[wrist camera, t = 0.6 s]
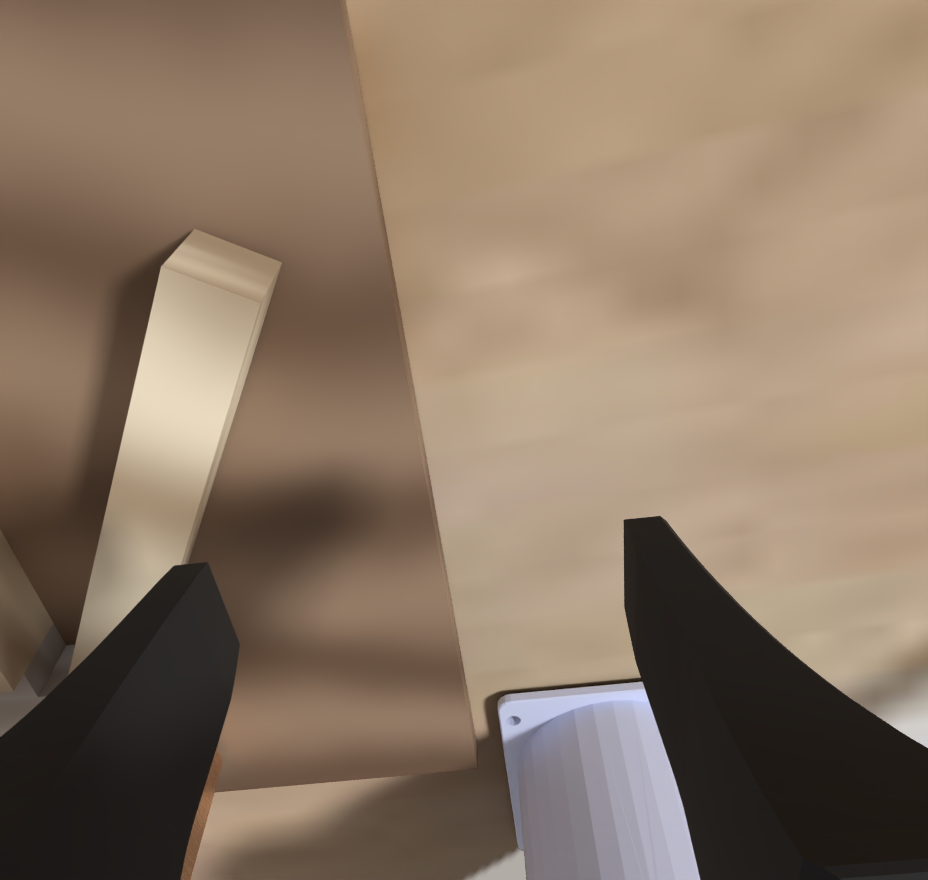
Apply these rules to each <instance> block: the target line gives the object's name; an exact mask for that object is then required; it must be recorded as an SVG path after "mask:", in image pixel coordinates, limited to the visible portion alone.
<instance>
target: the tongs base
mask: <svg viewBox="0 0 928 880" xmlns="http://www.w3.org/2000/svg"><path fill="white" fill-rule="evenodd" d="M194 229H196V230H199V231H202V232H204V233H207V234H209V235H212V236H215V237H217V238H220V239H222V240H225V241H228V242H230V243H233V244H235V245H238V246H241V247H243V248H246V249H248V250H251V251H254V252H256V253H259V254H261V255H264V256H267V257H269V258H272V259H274V260H277V261H280V262H282V264H281V268H280V271H279V274H278V277H277V280H276V284H275V287H274V290H273V293H272V296H271V300H270V303H269V306H268V309H267V312H266V316H265V319H264V322H263V325H262V329H261V332H260V335H259V338H258V341H257V345H256V348H255V351H254V354H253V357H252V361H251V364H250V367H249V370H248V373H247V377H246V380H245V383H244V386H243V389H242V393H241V396H240V399H239V402H238V405H237V409H236V412H235V415H234V418H233V421H232V425H231V428H230V431H229V434H228V437H227V441H226V444H225V447H224V450H223V453H222V457H221V460H220V463H219V466H218V469H217V473H216V476H215V479H214V482H213V485H212V489H211V492H210V495H209V498H208V501H207V505H206V508H205V511H204V514H203V518H202V521H201V524H200V527H199V530H198V534H197V537H196V540H195V543H194V546H193V550H192V553H191V556H190V559H189V562H188V564H193V563H203V562H208V564H209V566H210V569H211V571H212V574H213V576H214V579H215V582H216V584H217V587H218V589H219V592H220V594H221V597H222V599H223V602H224V605H225V607H226V610H227V612H228V615H229V617H230V620H231V623H232V625H233V628H234V630H235V633H236V635H237V638H238V641H239V643H240V648H239V655H238V661H237V668H236V675H235V680H234V686H233V692H232V697H231V701H230V705H229V708H228V712H227V715H226V719H225V722H224V725H223V729H222V732H221V735H220V739H219V742H218V745H217V748H218V751H219V753H220V755H221V757H222V759H223V763H222V767H221V770H220V774H219V778H218V781H217V785H216V788H215V792H224V791H235V790H247V789H258V788H269V787H280V786H292V785H303V784H314V783H325V782H337V781H348V780H359V779H370V778H382V777H393V776H404V775H415V774H427V773H438V772H449V771H460V770H472V769H478V757H477V742H476V736H475V731H474V725H473V719H472V714H471V708H470V702H469V697H468V691H467V685H466V680H465V674H464V668H463V663H462V657H461V651H460V646H459V640H458V634H457V629H456V623H455V618H454V612H453V606H452V601H451V595H450V589H449V584H448V578H447V572H446V567H445V561H444V555H443V550H442V544H441V538H440V533H439V527H438V521H437V516H436V510H435V504H434V499H433V493H432V487H431V482H430V476H429V471H428V465H427V459H426V454H425V448H424V442H423V437H422V431H421V425H420V420H419V414H418V408H417V403H416V397H415V391H414V386H413V380H412V374H411V369H410V363H409V357H408V352H407V346H406V341H405V335H404V329H403V324H402V318H401V312H400V307H399V301H398V295H397V290H396V284H395V278H394V273H393V267H392V261H391V256H390V250H389V244H388V239H387V233H386V227H385V222H384V216H383V210H382V205H381V199H380V194H379V188H378V182H377V177H376V171H375V165H374V160H373V154H372V148H371V143H370V137H369V131H368V126H367V120H366V114H365V109H364V103H363V97H362V92H361V86H360V80H359V75H358V69H357V64H356V58H355V52H354V47H353V41H352V35H351V30H350V24H349V18H348V13H347V7H346V1H345V0H0V737H1V736H2V735H3V734H4V733H6V732H7V731H8V730H9V729H10V728H12V727H13V726H14V725H15V724H16V723H17V722H19V721H20V720H21V719H22V718H23V717H24V716H25V715H27V714H28V713H29V712H30V711H31V710H32V709H33V708H34V707H35V706H37V705H38V704H39V703H40V702H41V701H42V700H43V699H44V698H45V697H46V696H47V695H48V694H49V693H50V692H51V691H52V690H53V689H54V688H56V687H57V686H58V685H59V684H60V683H61V682H62V681H63V680H64V679H65V678H66V677H67V676H68V675H69V670H70V666H71V661H72V657H73V653H74V648H75V644H76V639H77V635H78V631H79V626H80V622H81V617H82V613H83V609H84V604H85V600H86V595H87V591H88V586H89V582H90V578H91V573H92V569H93V564H94V560H95V556H96V551H97V547H98V542H99V538H100V534H101V529H102V525H103V520H104V516H105V512H106V507H107V503H108V498H109V494H110V490H111V485H112V481H113V476H114V472H115V468H116V463H117V459H118V454H119V450H120V446H121V441H122V437H123V432H124V428H125V424H126V419H127V415H128V410H129V406H130V402H131V397H132V393H133V388H134V384H135V379H136V375H137V371H138V366H139V362H140V357H141V353H142V349H143V344H144V340H145V335H146V331H147V327H148V322H149V318H150V313H151V309H152V305H153V300H154V296H155V291H156V287H157V283H158V278H159V274H160V269H161V266H162V265H163V264H164V263H165V262H166V261H167V259H168V258H169V257H170V256H171V255H172V254H173V253H174V252H175V250H176V249H177V248H178V247H179V246H180V245H181V244H182V243H183V242H184V240H185V239H186V238H187V237H188V236H189V235H190V234H191V233H192V231H193V230H194Z"/></svg>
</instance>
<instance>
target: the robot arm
mask: <svg viewBox="0 0 928 880" xmlns="http://www.w3.org/2000/svg"><path fill="white" fill-rule="evenodd" d="M624 606H625V612H626V617H627V622H628V627H629V632H630V637H631V641H632V646H633V651H634V655H635V660H636V664H637V667H638V670H639V673H640V676H641V679H642V682H633V683H622V684H611V685H601V686H590V687H579V688H569V689H558V690H547V691H537V692H526V693H515V694H508V695H505V696H503V697H501V698H500V699H499V701H498V716H499V722H500V729H501V736H502V743H503V749H504V756H505V763H506V770H507V776H508V783H509V790H510V797H511V803H512V810H513V817H514V824H515V830H516V837H517V844H518V847H519V849H521V850H522V851H524V856H525V868H526V879H527V880H928V748H926V747H925V746H923V745H921V744H920V743H918V742H916V741H915V740H913V739H911V738H909V737H908V736H906V735H905V734H903V733H901V732H900V731H898V730H897V729H895V728H894V727H892V726H891V725H889V724H888V723H886V722H885V721H883V720H882V719H880V718H879V717H877V716H876V715H874V714H873V713H871V712H870V711H868V710H867V709H865V708H864V707H862V706H861V705H859V704H858V703H856V702H855V701H853V700H852V699H850V698H849V697H848V696H846V695H845V694H844V693H842V692H841V691H840V690H838V689H837V688H836V687H834V686H833V685H832V684H830V683H829V682H828V681H826V680H825V679H824V678H822V677H821V676H820V675H818V674H817V673H816V672H815V671H813V670H812V669H811V668H810V667H808V666H807V665H806V664H805V663H803V662H802V661H801V660H800V659H799V658H797V657H796V656H795V655H794V654H793V653H791V652H790V651H789V650H788V649H787V648H786V647H784V646H783V645H782V644H781V643H780V642H779V641H778V640H777V639H775V638H774V637H773V636H772V635H771V634H770V633H769V632H768V631H767V630H766V629H765V628H763V627H762V626H761V625H760V624H759V623H758V622H757V621H756V620H755V619H754V618H753V617H752V616H751V615H750V614H749V613H748V612H747V611H746V610H745V609H744V608H743V607H742V606H740V605H739V603H738V602H737V601H736V600H735V599H734V598H733V597H732V596H731V595H730V594H729V593H728V592H727V591H726V590H725V589H724V588H723V587H722V586H721V585H720V584H719V583H718V582H717V581H716V580H715V578H714V577H713V576H712V575H711V574H710V573H709V572H708V571H707V570H706V569H705V567H704V566H703V565H702V564H701V563H700V562H699V560H698V559H697V558H696V557H695V556H694V555H693V554H692V552H691V551H690V550H689V549H688V548H687V546H686V545H685V544H684V543H683V542H682V540H681V539H680V538H679V537H678V535H677V534H676V533H675V532H674V530H673V529H672V528H671V526H670V525H669V524H668V522H667V521H666V520H664V519H663V518H662V517H661V516H656V517H646V518H636V519H626V520H624ZM239 648H240V643H239V641H238V638H237V635H236V633H235V630H234V628H233V625H232V623H231V620H230V617H229V615H228V612H227V610H226V607H225V605H224V602H223V599H222V597H221V594H220V592H219V589H218V587H217V584H216V582H215V579H214V576H213V574H212V571H211V569H210V566H209V564H208V562H203V563H193V564H184V565H174V566H173V567H172V568H171V569H170V570H169V571H168V572H167V573H166V574H165V575H164V576H163V577H162V578H161V579H160V580H159V581H158V582H157V583H156V584H155V585H154V586H153V588H152V589H151V590H150V591H149V592H148V593H147V594H146V595H145V596H144V597H143V598H142V599H141V600H140V602H139V603H138V604H137V605H136V606H135V607H134V608H133V609H132V610H131V611H130V612H129V613H128V614H127V616H126V617H125V618H124V619H123V620H122V621H121V622H120V623H119V624H118V625H117V626H116V627H115V628H114V629H113V630H112V631H111V632H110V633H109V635H108V636H107V637H106V638H105V639H104V640H103V641H102V642H101V643H100V644H99V645H98V646H97V647H96V648H95V649H94V650H93V651H92V652H91V653H90V654H89V655H88V656H87V657H86V658H85V659H84V660H83V661H82V662H81V663H80V664H79V665H78V666H77V667H76V668H75V669H74V670H73V671H72V672H71V673H70V674H69V675H68V676H67V677H66V678H65V679H64V680H63V681H62V682H61V683H60V684H59V685H58V686H57V687H56V688H54V689H53V690H52V691H51V692H50V693H49V694H48V695H47V696H46V697H45V698H44V699H43V700H42V701H41V702H40V703H39V704H38V705H37V706H35V707H34V708H33V709H32V710H31V711H30V712H29V713H28V714H27V715H25V716H24V717H23V718H22V719H21V720H20V721H19V722H17V723H16V724H15V725H14V726H13V727H12V728H10V729H9V730H8V731H7V732H6V733H4V734H3V735H2V736H1V737H0V880H181V875H182V870H183V865H184V860H185V855H186V850H187V846H188V842H189V838H190V835H191V831H192V827H193V823H194V820H195V816H196V813H197V810H198V807H199V804H200V800H201V797H202V794H203V791H204V787H205V784H206V781H207V778H208V774H209V771H210V768H211V765H212V761H213V758H214V755H215V752H216V748H217V745H218V742H219V739H220V735H221V732H222V729H223V725H224V722H225V719H226V715H227V712H228V708H229V705H230V701H231V697H232V692H233V686H234V680H235V675H236V668H237V661H238V655H239Z"/></svg>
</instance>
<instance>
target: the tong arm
mask: <svg viewBox="0 0 928 880" xmlns="http://www.w3.org/2000/svg"><path fill="white" fill-rule="evenodd" d="M281 264H282V262H280V261H277V260H274V259H272V258H269V257H267V256H264V255H261V254H259V253H256V252H254V251H251V250H248V249H246V248H243V247H241V246H238V245H235V244H233V243H230V242H228V241H225V240H222V239H220V238H217V237H215V236H212V235H209V234H207V233H204V232H202V231H199V230H196V229H194V230H193V231H192V233H191V234H190V235H189V236H188V237H187V238H186V239H185V240H184V242H183V243H182V244H181V245H180V246H179V247H178V248H177V249H176V250H175V252H174V253H173V254H172V255H171V256H170V257H169V258H168V259H167V261H166V262H165V263H164V264H163V265H162V266H161V269H160V274H159V278H158V283H157V287H156V291H155V296H154V300H153V305H152V309H151V313H150V318H149V322H148V327H147V331H146V335H145V340H144V344H143V349H142V353H141V357H140V362H139V366H138V371H137V375H136V379H135V384H134V388H133V393H132V397H131V402H130V406H129V410H128V415H127V419H126V424H125V428H124V432H123V437H122V441H121V446H120V450H119V454H118V459H117V463H116V468H115V472H114V476H113V481H112V485H111V490H110V494H109V498H108V503H107V507H106V512H105V516H104V520H103V525H102V529H101V534H100V538H99V542H98V547H97V551H96V556H95V560H94V564H93V569H92V573H91V578H90V582H89V586H88V591H87V595H86V600H85V604H84V609H83V613H82V617H81V622H80V626H79V631H78V635H77V639H76V644H75V648H74V653H73V657H72V661H71V666H70V670H69V674H70V673H71V672H72V671H73V670H74V669H75V668H76V667H77V666H78V665H79V664H80V663H81V662H82V661H83V660H84V659H85V658H86V657H87V656H88V655H89V654H90V653H91V652H92V651H93V650H94V649H95V648H96V647H97V646H98V645H99V644H100V643H101V642H102V641H103V640H104V639H105V638H106V637H107V636H108V635H109V633H110V632H111V631H112V630H113V629H114V628H115V627H116V626H117V625H118V624H119V623H120V622H121V621H122V620H123V619H124V618H125V617H126V616H127V614H128V613H129V612H130V611H131V610H132V609H133V608H134V607H135V606H136V605H137V604H138V603H139V602H140V600H141V599H142V598H143V597H144V596H145V595H146V594H147V593H148V592H149V591H150V590H151V589H152V588H153V586H154V585H155V584H156V583H157V582H158V581H159V580H160V579H161V578H162V577H163V576H164V575H165V574H166V573H167V572H168V571H169V570H170V569H171V568H172V567H173V566H174V565H184V564H188V562H189V559H190V556H191V553H192V550H193V546H194V543H195V540H196V537H197V534H198V530H199V527H200V524H201V521H202V518H203V514H204V511H205V508H206V505H207V501H208V498H209V495H210V492H211V489H212V485H213V482H214V479H215V476H216V473H217V469H218V466H219V463H220V460H221V457H222V453H223V450H224V447H225V444H226V441H227V437H228V434H229V431H230V428H231V425H232V421H233V418H234V415H235V412H236V409H237V405H238V402H239V399H240V396H241V393H242V389H243V386H244V383H245V380H246V377H247V373H248V370H249V367H250V364H251V361H252V357H253V354H254V351H255V348H256V345H257V341H258V338H259V335H260V332H261V329H262V325H263V322H264V319H265V316H266V312H267V309H268V306H269V303H270V300H271V296H272V293H273V290H274V287H275V284H276V280H277V277H278V274H279V271H280V268H281Z"/></svg>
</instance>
